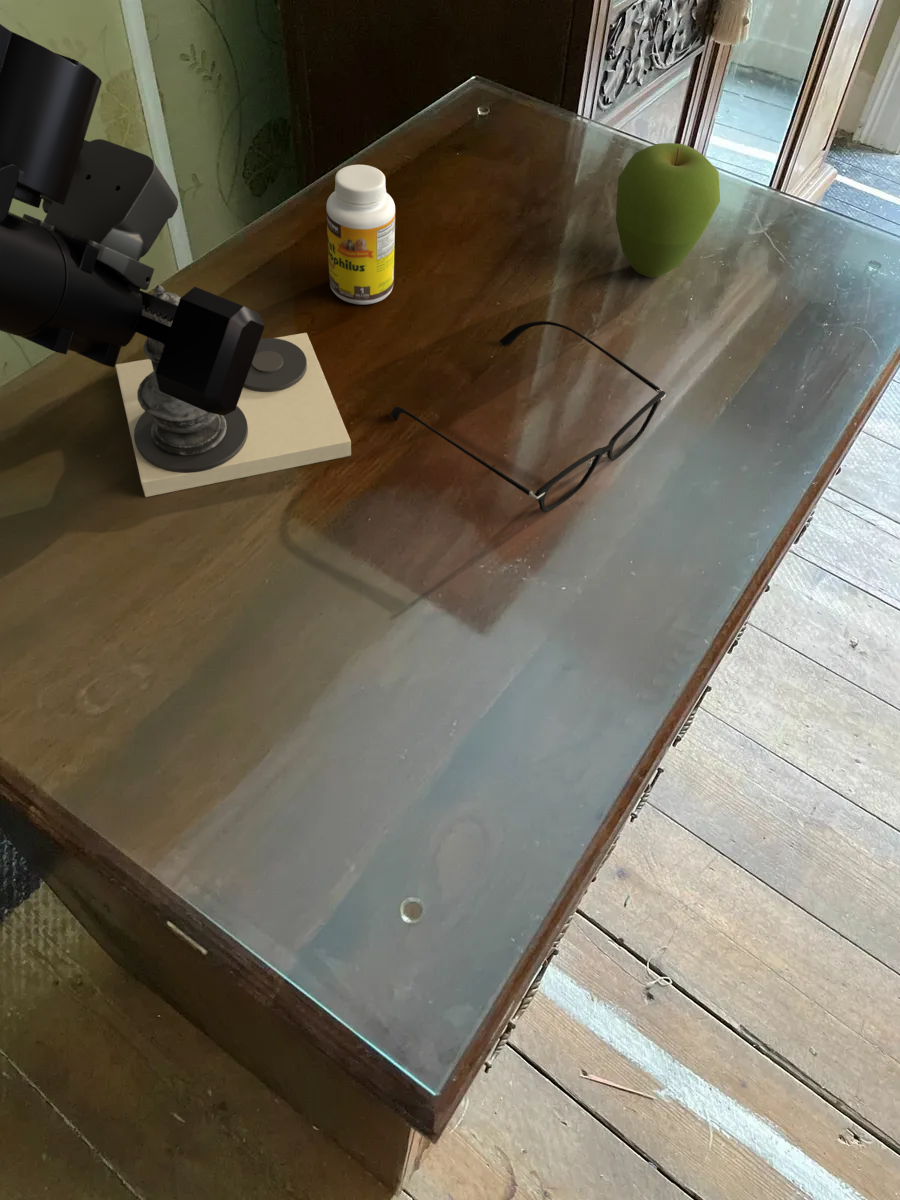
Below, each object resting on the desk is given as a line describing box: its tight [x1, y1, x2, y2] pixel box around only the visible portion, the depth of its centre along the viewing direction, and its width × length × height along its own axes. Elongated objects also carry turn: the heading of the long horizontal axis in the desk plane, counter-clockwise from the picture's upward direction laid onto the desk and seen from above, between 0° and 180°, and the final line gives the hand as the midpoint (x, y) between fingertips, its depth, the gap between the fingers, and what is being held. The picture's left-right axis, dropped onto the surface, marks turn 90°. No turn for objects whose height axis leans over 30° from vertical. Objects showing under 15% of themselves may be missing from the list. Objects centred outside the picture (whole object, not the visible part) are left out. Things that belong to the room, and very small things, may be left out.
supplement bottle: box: [325, 164, 396, 306], centre depth 79 cm, size 6×6×10 cm
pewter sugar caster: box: [137, 284, 227, 455], centre depth 64 cm, size 6×6×12 cm
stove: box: [115, 332, 352, 498], centre depth 72 cm, size 15×13×2 cm
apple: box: [615, 142, 721, 279], centre depth 83 cm, size 9×8×12 cm
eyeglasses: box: [390, 320, 667, 513], centre depth 72 cm, size 16×16×4 cm
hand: (187, 338), depth 64 cm, fingers open, 9 cm apart
